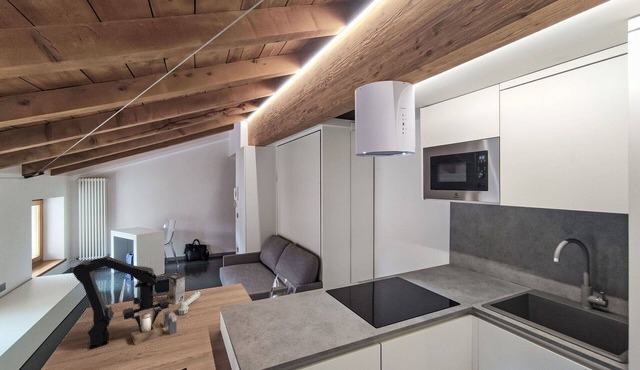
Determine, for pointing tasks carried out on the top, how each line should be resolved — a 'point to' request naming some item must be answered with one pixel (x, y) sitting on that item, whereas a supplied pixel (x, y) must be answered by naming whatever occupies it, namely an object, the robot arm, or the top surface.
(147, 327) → the white cylinder
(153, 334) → the socket block
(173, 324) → the bolt mount
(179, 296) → the coffee box
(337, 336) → the top surface
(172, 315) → the lock bolt
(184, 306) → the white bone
